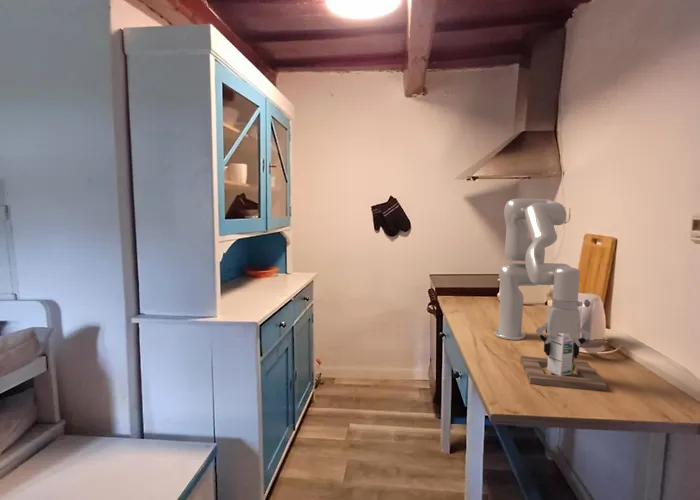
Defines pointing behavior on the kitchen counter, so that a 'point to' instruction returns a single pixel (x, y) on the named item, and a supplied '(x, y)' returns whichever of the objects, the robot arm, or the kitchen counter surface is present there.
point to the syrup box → (561, 355)
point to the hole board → (583, 370)
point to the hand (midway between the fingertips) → (560, 355)
